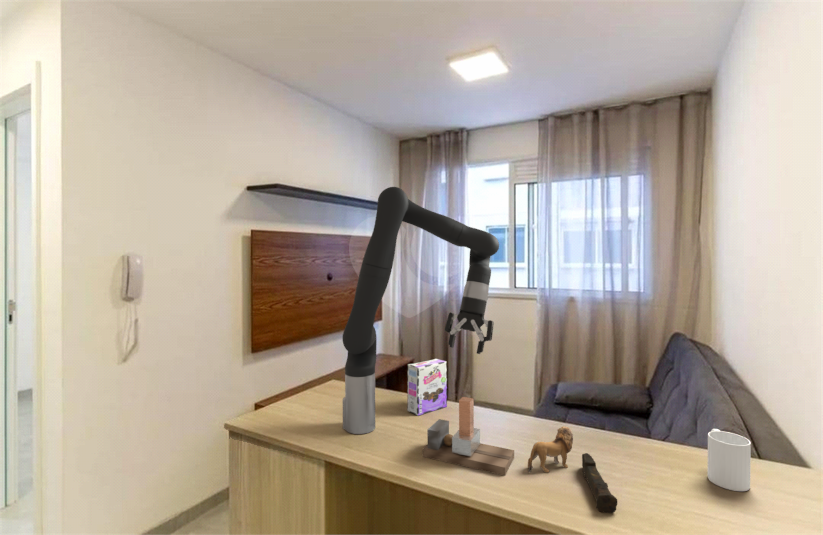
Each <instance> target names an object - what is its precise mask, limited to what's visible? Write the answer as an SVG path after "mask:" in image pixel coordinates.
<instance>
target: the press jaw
mask: <svg viewBox="0 0 823 535" xmlns="http://www.w3.org/2000/svg"><path fill="white" fill-rule="evenodd" d="M474 406H475V404H474V398H472V397H466V396H462V397H461V398H459V400H458V430H457V431H456V432H455V433H454V434H453V437H452V453H456V454H461V455H465V456H470V457H471V456H472V454H473V453H474V451H475V450H476V449H477V447H478V446H479V445H480V443H481V429H480V428H474V427H475V426H474V421H475V420H474V416H475V415H474V414H475V412H474Z"/></svg>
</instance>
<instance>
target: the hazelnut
mask: <svg viewBox="0 0 823 535" xmlns="http://www.w3.org/2000/svg"><path fill="white" fill-rule="evenodd" d="M453 436H454V434H451V433H449V434H447V435H445V437H444V443H445V444H446V445H447V446H452V437H453Z"/></svg>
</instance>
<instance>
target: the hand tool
mask: <svg viewBox="0 0 823 535" xmlns="http://www.w3.org/2000/svg"><path fill="white" fill-rule="evenodd" d="M581 461H582V463H581V466H582V472H583V478H584V479H586V481H587V483H588V486H589V487H590V489H591V492H592V496H593V497H594V499H595V500H596V509H597V510H598V512H599V513H605V514H613V513H615V512H616V510H617V506H618V499H617V497H616V496H615V495H613V494H612V493H611V490H609V486H608V483H607V482H605V480H604V479H603V477H602V476H601V473H600V471H598V468H597V463H596V461H595V460H594V458H593V457H592V456H591V455H590V453H587V452H586V453H582V455H581Z"/></svg>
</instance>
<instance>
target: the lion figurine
mask: <svg viewBox="0 0 823 535" xmlns="http://www.w3.org/2000/svg"><path fill="white" fill-rule="evenodd" d="M556 431H557V432H556V435H555V438H554V440H552V441H548V442H546V441H538V442H535V443H534V444H533V446H532V449H531V452H530V456H529V458H528V461H527V468H528V470H527V473H531V472H532V469H534V466H533V465H532V464H533V461H534V460H535V459H536V458H537V457H538V459H539V461H540V462H539V463H540V465H539V467H540V468H541V469H542V471H543V472H544V473H547V474H549V473H550V470H549V468H546V467H545V464H546V461H547V457H549V458H553V463H554V464H555V465H557V464H560V461H559V456H560V457H561V466H562V467H563V468H565V469H567V468H568V467H569V466H568V464H567V459H568V453H570V452H571V450H572V449H573V444H574V434H573V431H572V429H570V428H569V427H567V426H561V427H559V428H557V430H556Z"/></svg>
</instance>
